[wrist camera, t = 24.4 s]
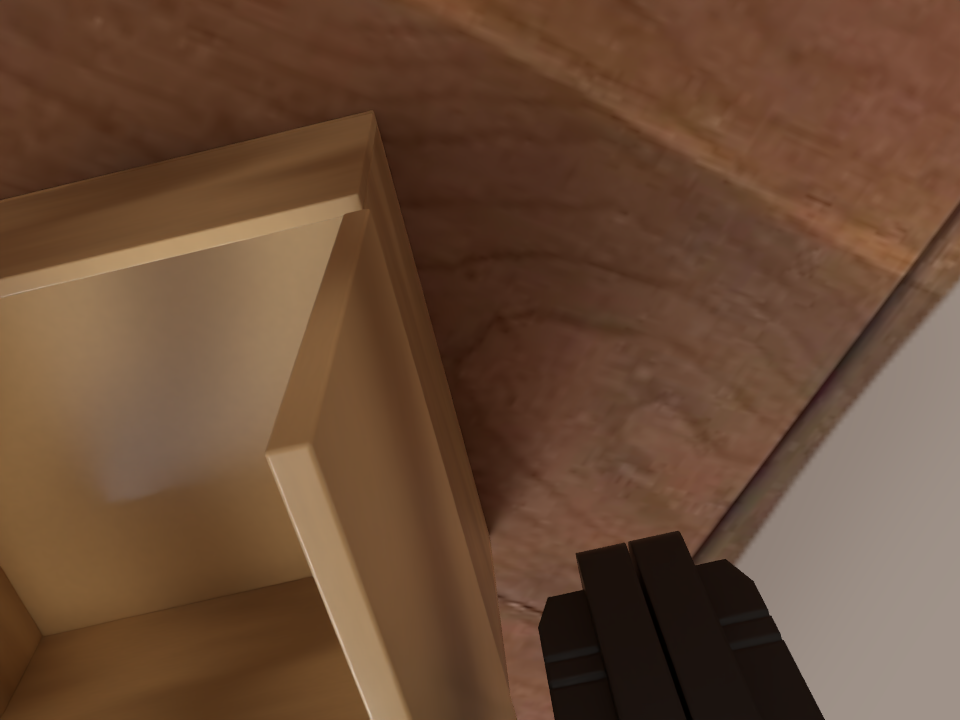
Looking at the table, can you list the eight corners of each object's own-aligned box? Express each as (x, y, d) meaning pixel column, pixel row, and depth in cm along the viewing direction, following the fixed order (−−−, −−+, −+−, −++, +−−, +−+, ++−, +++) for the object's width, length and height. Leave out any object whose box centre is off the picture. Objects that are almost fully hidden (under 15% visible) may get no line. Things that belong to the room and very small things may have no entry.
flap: (342, 213, 12) (369, 206, 12) (508, 757, 18) (527, 754, 18) (262, 452, 7) (310, 443, 7) (535, 1141, 12) (564, 1136, 12)
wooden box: (373, 110, 19) (358, 193, 13) (490, 538, 24) (515, 729, 18) (-196, 246, 19) (-447, 385, 13) (41, 638, 24) (-70, 855, 19)
